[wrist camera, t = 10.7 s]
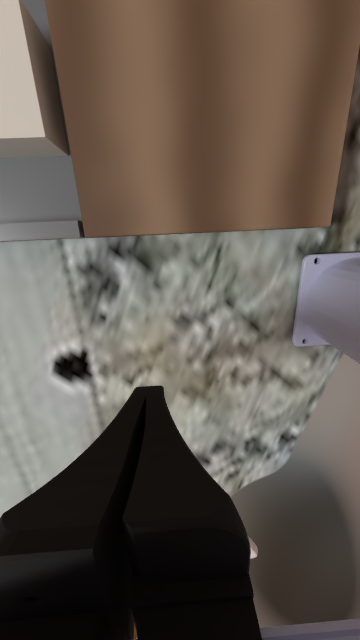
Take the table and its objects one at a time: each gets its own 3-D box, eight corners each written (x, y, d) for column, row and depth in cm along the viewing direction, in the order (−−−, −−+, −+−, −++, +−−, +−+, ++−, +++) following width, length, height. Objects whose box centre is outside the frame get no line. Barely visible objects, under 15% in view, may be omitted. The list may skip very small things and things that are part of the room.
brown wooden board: (345, -86, 13) (396, -180, 10) (305, 228, 18) (330, 226, 15) (49, -84, 12) (13, -181, 9) (98, 237, 18) (84, 237, 15)
